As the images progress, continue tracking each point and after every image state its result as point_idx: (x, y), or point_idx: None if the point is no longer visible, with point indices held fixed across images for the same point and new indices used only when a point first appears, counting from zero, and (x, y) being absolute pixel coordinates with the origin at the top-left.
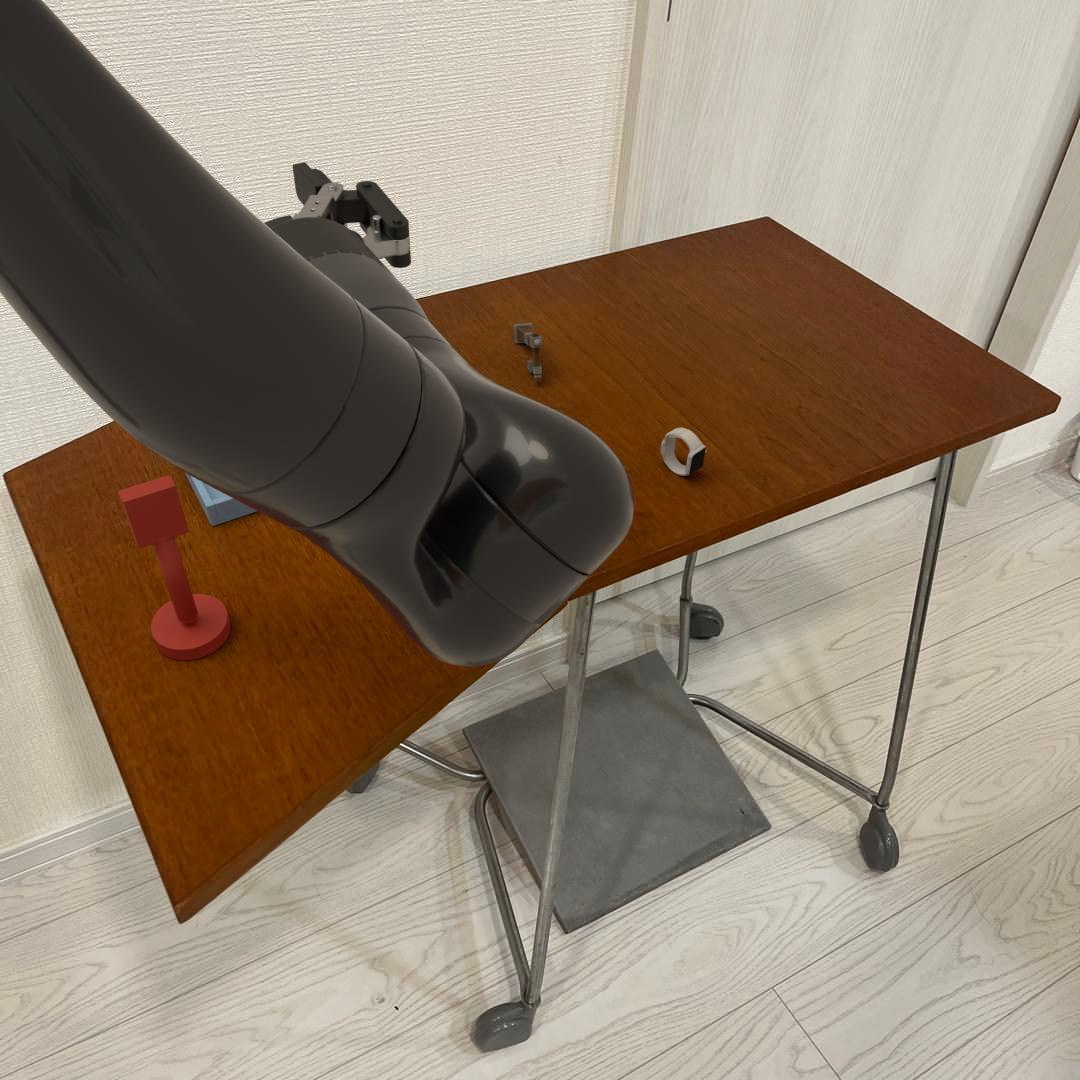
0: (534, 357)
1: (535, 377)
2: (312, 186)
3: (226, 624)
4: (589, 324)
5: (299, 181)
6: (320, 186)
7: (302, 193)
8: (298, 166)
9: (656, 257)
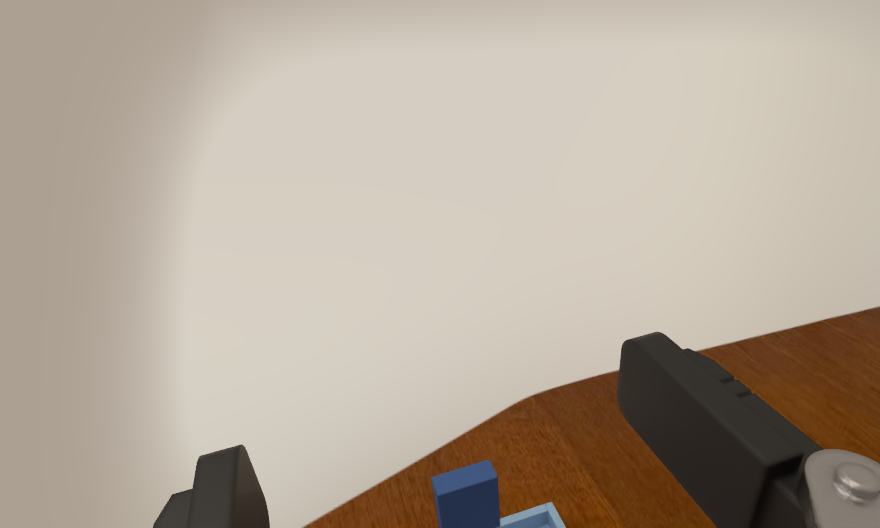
0: None
1: None
2: (742, 451)
3: None
4: (827, 416)
5: (649, 390)
6: (783, 461)
7: (653, 421)
8: (652, 351)
9: (862, 327)
